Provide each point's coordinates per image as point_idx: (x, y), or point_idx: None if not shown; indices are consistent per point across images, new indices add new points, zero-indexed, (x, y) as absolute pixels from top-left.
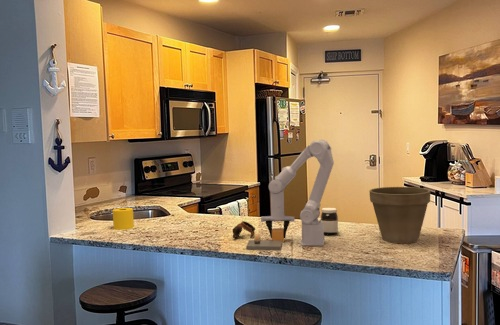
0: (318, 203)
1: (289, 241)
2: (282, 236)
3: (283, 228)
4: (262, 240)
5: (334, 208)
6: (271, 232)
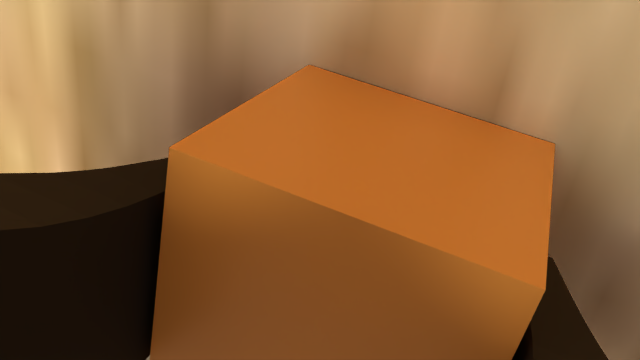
0: None
1: (618, 322)
2: None
3: (521, 299)
4: None
5: None
6: None
